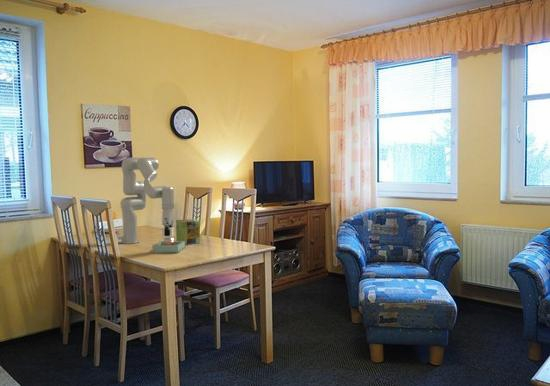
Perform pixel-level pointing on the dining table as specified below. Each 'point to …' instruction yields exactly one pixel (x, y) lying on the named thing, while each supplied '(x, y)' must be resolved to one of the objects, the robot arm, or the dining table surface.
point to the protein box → (188, 231)
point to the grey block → (170, 232)
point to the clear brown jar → (169, 241)
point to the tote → (168, 247)
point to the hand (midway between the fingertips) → (168, 234)
